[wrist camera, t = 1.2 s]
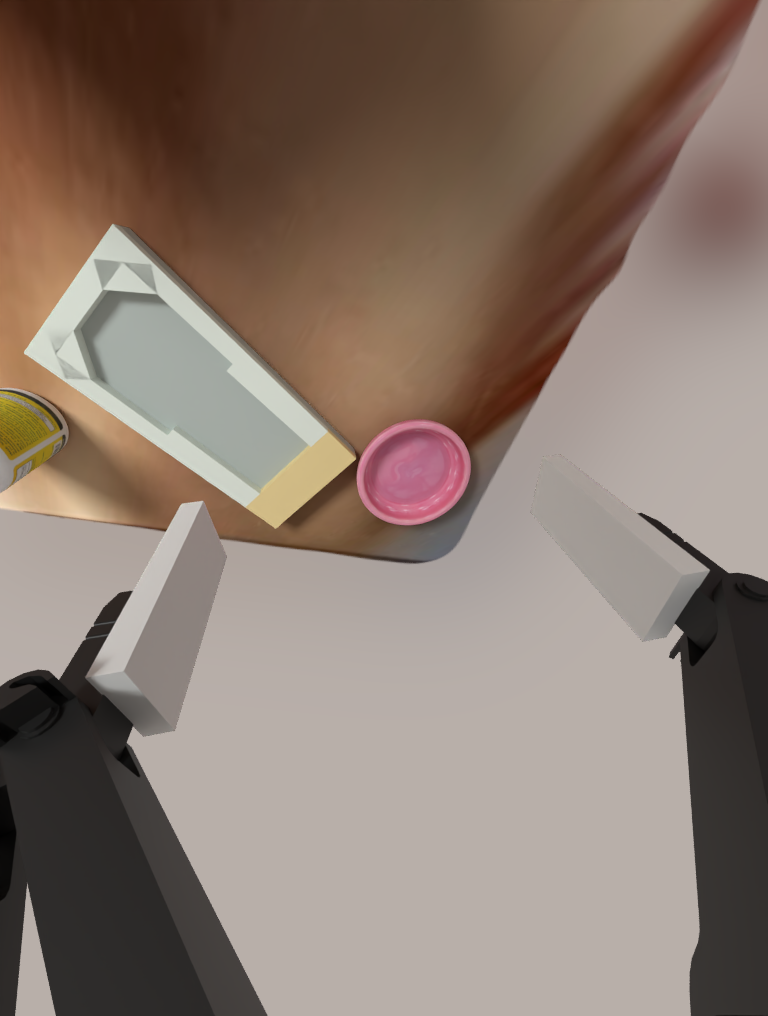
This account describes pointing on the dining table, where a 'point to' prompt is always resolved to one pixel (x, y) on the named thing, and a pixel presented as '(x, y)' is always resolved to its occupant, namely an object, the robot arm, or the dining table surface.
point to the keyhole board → (187, 380)
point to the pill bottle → (27, 434)
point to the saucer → (413, 472)
